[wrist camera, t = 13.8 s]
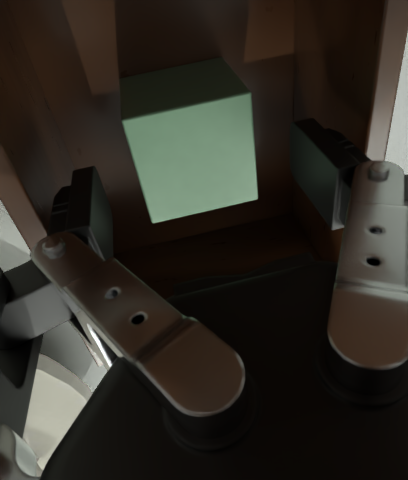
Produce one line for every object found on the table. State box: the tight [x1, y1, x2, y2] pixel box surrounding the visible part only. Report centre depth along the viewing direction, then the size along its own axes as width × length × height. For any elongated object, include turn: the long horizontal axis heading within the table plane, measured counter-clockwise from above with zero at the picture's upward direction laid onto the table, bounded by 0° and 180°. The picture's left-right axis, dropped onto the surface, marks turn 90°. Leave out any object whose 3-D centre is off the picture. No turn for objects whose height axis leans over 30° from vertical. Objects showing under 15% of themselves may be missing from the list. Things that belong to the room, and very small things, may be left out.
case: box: [0, 0, 408, 366], centre depth 15 cm, size 15×12×7 cm
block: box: [119, 57, 258, 223], centre depth 16 cm, size 4×4×4 cm
